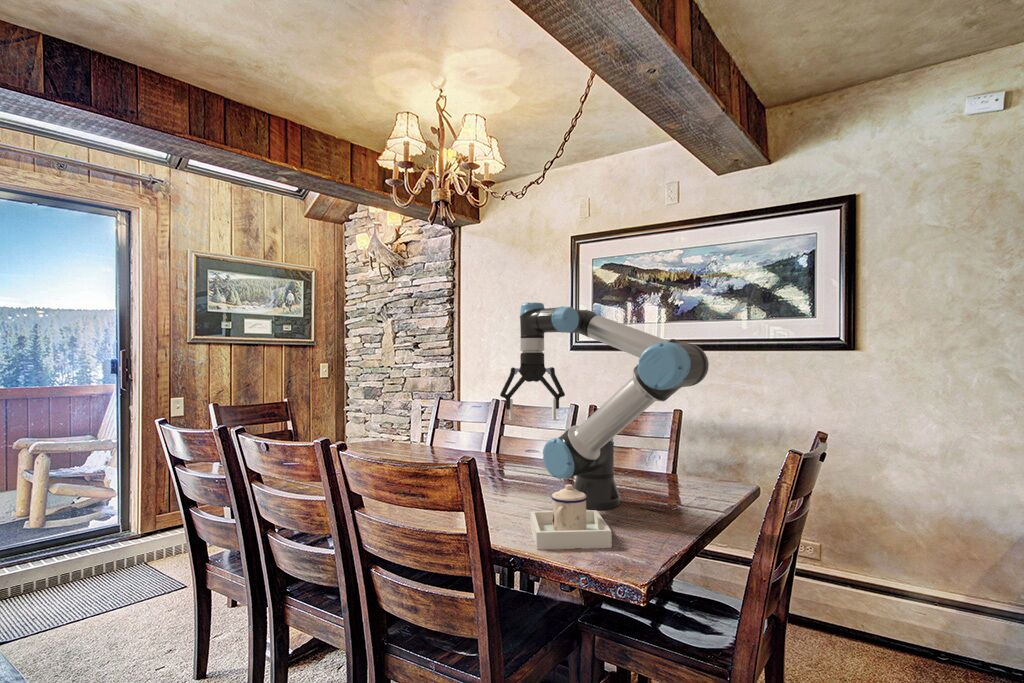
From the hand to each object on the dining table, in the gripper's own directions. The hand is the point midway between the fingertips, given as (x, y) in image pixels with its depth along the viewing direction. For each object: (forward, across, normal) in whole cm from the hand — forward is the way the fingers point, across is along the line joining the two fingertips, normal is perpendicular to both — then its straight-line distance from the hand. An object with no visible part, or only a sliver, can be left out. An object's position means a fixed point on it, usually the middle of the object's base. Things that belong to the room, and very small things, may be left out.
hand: (532, 419), depth 171 cm
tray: (+26, -4, +32) cm, 41 cm away
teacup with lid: (+25, -4, +32) cm, 41 cm away
